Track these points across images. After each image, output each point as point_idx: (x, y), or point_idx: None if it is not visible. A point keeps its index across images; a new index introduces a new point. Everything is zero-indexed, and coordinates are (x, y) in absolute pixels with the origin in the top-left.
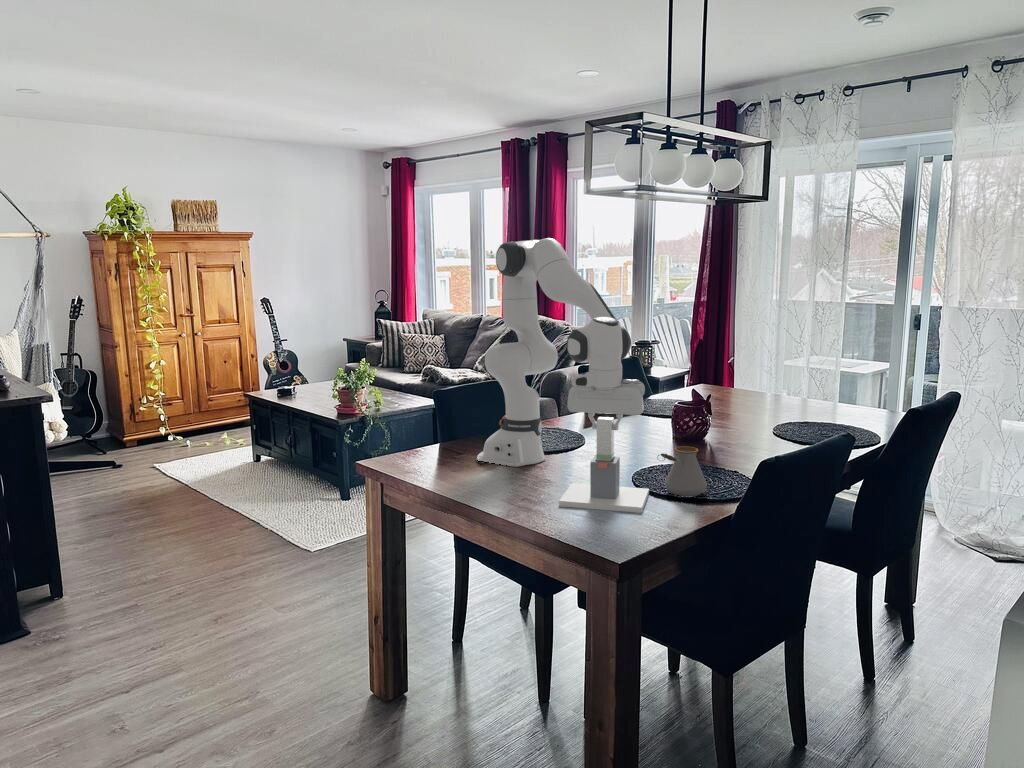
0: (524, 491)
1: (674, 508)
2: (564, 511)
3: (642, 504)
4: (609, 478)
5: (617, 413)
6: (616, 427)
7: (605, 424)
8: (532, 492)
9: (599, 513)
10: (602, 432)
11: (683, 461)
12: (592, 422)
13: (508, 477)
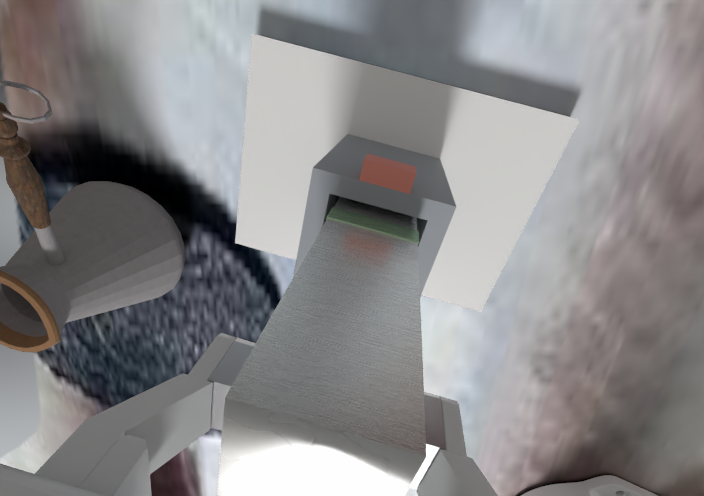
0: (658, 284)
1: (157, 93)
2: (564, 49)
3: (250, 72)
4: (359, 157)
5: (64, 492)
6: (217, 350)
7: (318, 376)
8: (631, 272)
9: (420, 26)
10: (365, 321)
11: (45, 259)
12: (464, 460)
13: (667, 407)
